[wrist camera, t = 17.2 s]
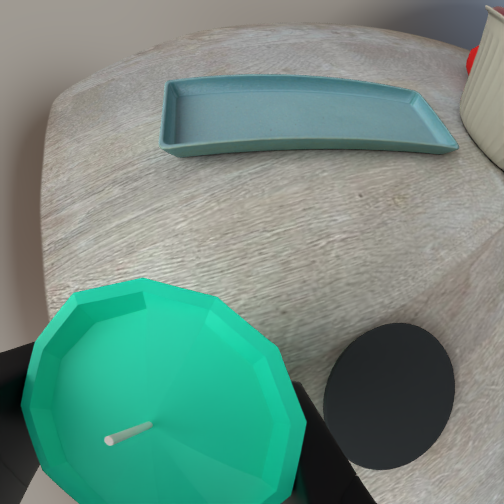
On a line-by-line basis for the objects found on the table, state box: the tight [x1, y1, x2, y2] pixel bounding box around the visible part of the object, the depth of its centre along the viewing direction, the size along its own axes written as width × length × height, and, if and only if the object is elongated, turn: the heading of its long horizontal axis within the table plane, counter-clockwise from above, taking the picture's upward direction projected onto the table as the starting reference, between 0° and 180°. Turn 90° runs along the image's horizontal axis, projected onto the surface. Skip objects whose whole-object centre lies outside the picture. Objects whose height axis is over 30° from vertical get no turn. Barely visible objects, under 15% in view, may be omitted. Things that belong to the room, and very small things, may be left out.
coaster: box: [323, 323, 455, 470], centre depth 14 cm, size 9×9×1 cm
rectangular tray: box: [159, 74, 459, 158], centre depth 22 cm, size 26×9×2 cm, turn 99°
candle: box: [21, 278, 307, 504], centre depth 8 cm, size 6×6×12 cm
